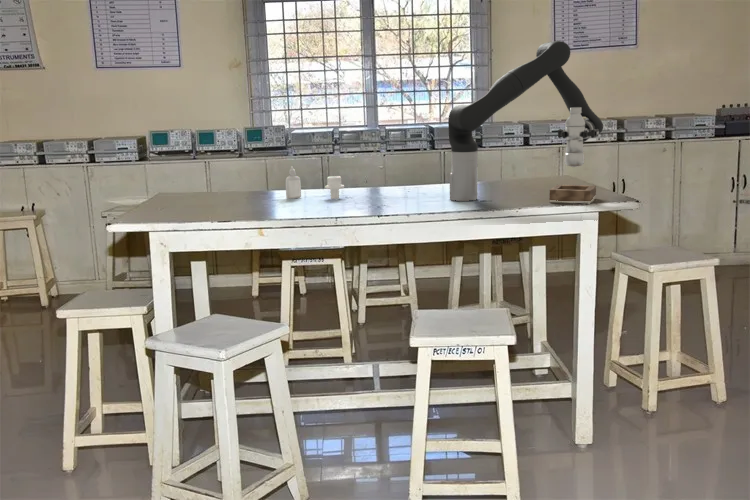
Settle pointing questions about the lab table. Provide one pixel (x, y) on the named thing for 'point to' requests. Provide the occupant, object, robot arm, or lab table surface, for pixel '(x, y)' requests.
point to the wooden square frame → (572, 193)
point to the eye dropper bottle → (293, 185)
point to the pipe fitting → (334, 186)
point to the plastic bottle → (574, 138)
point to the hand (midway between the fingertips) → (573, 134)
